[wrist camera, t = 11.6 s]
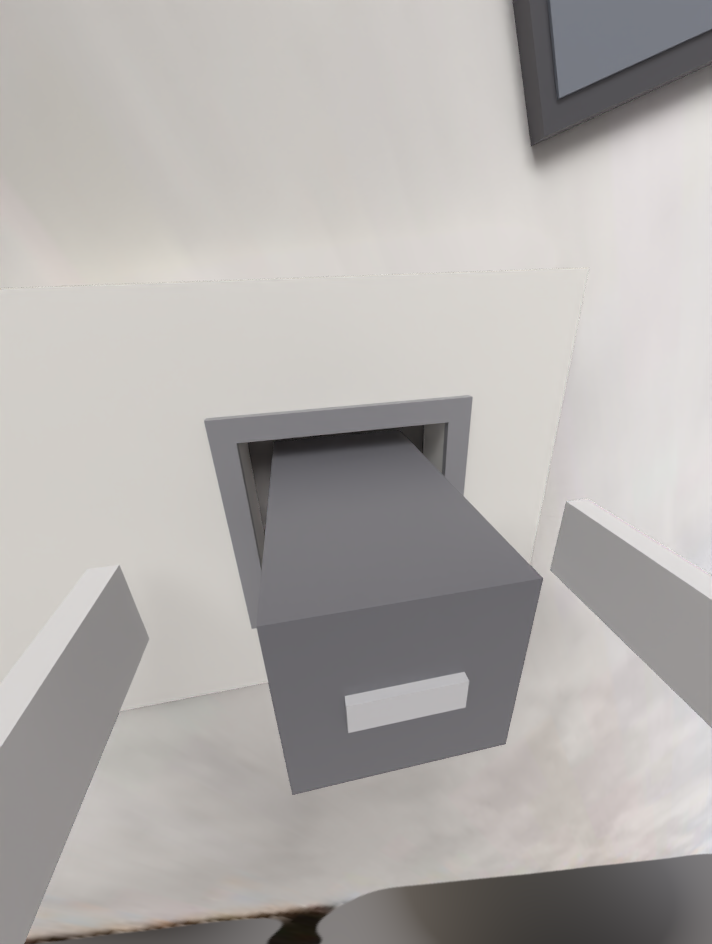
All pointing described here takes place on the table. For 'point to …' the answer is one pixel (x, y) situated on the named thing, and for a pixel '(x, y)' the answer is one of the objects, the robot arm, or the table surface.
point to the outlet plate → (250, 432)
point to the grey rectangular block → (385, 611)
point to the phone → (604, 54)
